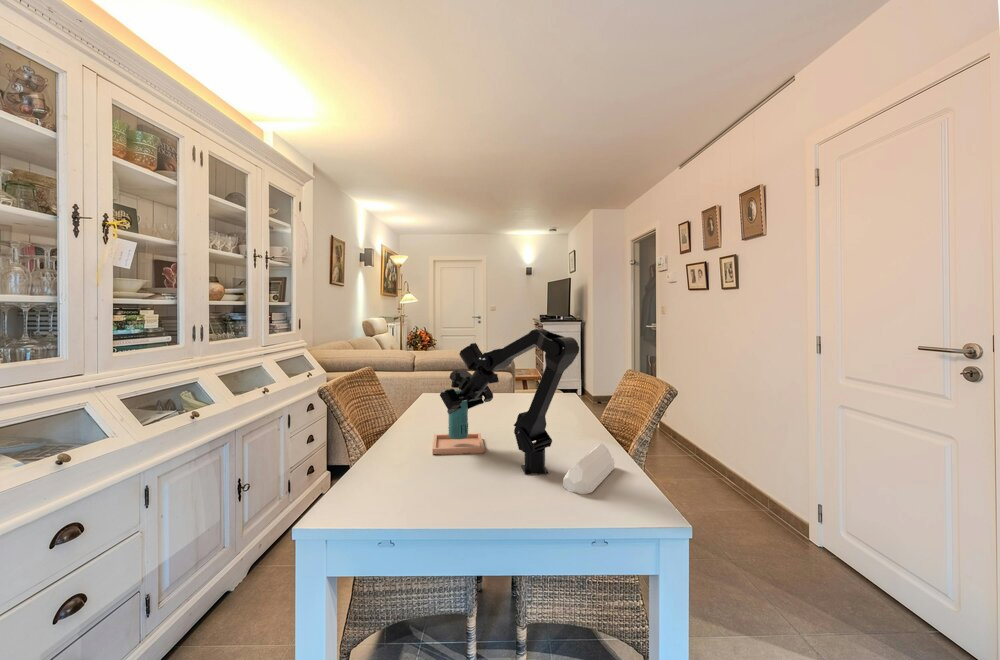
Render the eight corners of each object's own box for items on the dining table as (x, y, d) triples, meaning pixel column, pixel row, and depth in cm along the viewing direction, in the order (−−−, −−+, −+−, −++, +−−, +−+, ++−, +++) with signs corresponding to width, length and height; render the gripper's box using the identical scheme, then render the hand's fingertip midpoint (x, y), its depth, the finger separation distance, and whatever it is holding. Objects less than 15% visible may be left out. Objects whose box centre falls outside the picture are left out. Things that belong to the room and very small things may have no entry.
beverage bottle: (461, 445, 139) (460, 382, 139) (444, 442, 143) (443, 380, 142) (472, 440, 145) (472, 379, 144) (455, 437, 148) (455, 378, 148)
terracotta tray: (484, 453, 137) (484, 447, 137) (432, 454, 135) (432, 449, 135) (480, 438, 153) (480, 433, 153) (433, 439, 151) (433, 434, 151)
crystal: (585, 449, 130) (552, 474, 109) (606, 440, 126) (576, 465, 106) (597, 473, 128) (566, 503, 107) (619, 464, 125) (591, 494, 104)
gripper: (486, 359, 147) (464, 388, 155) (443, 364, 133) (421, 395, 141) (504, 385, 142) (480, 414, 150) (460, 392, 128) (437, 424, 136)
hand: (455, 411), depth 144 cm, fingers closed on beverage bottle, 6 cm apart
